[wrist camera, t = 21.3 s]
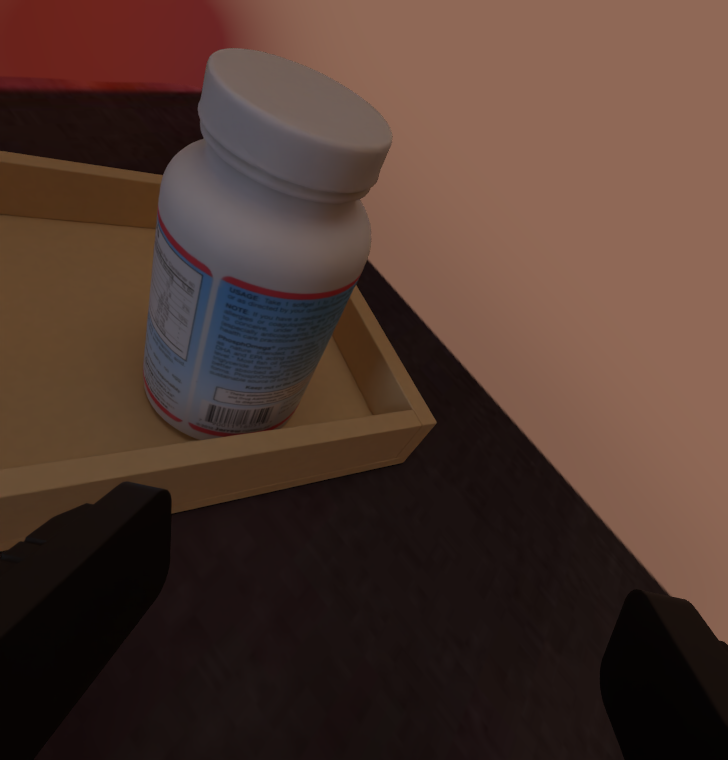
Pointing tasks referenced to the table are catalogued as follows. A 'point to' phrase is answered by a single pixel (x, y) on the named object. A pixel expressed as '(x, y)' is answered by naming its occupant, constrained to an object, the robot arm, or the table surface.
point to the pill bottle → (257, 243)
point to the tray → (125, 365)
